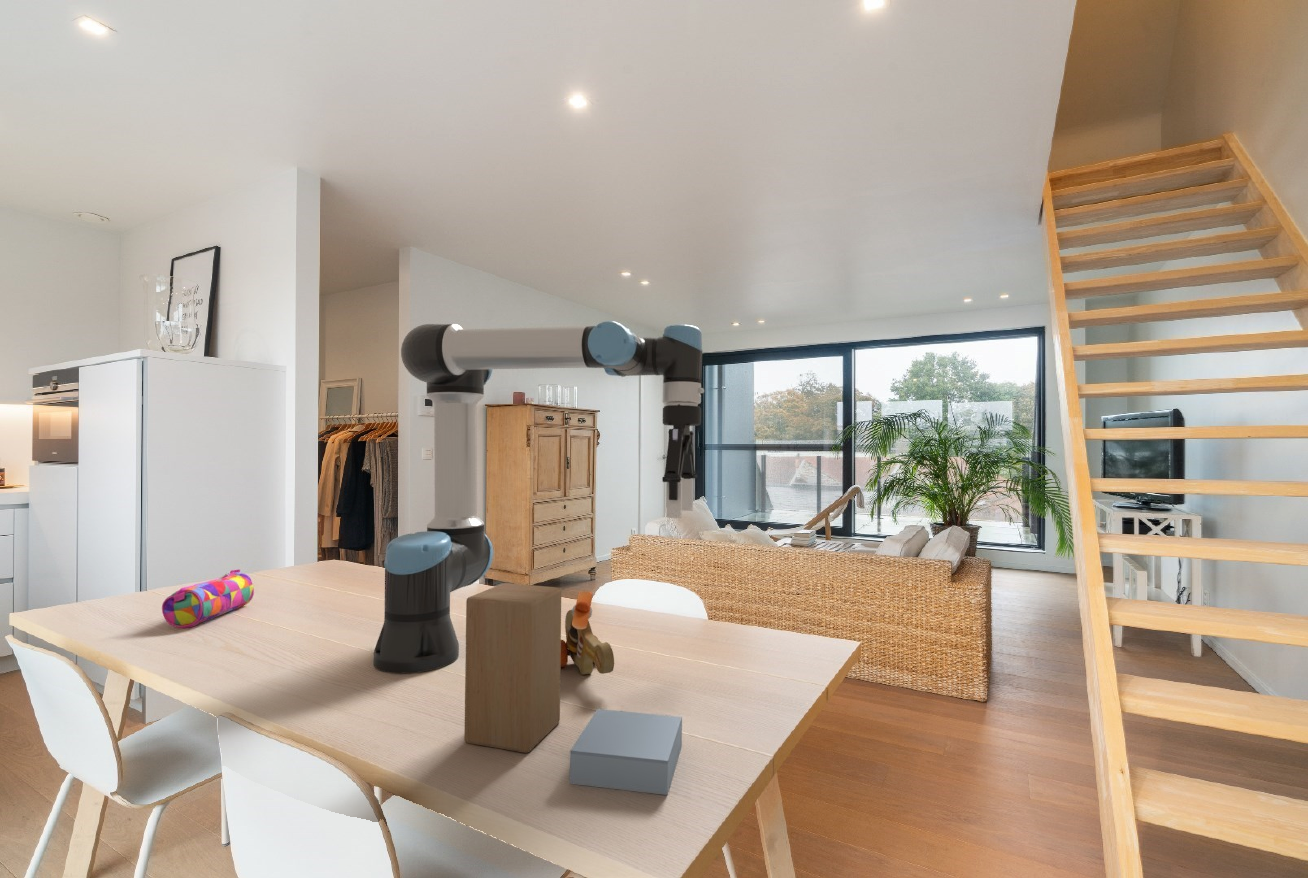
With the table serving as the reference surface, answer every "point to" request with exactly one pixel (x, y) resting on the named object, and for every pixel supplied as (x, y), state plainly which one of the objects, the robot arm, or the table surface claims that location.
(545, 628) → the wooden block
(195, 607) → the pencil case
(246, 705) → the table surface
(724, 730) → the table surface
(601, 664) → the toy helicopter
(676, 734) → the base brick
